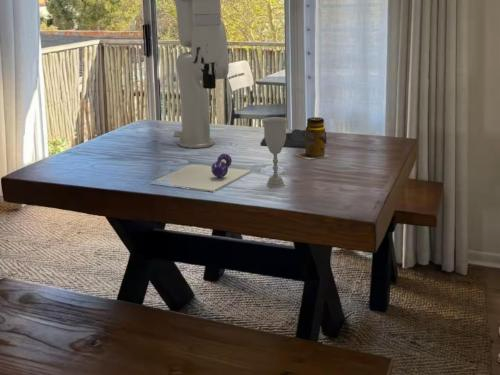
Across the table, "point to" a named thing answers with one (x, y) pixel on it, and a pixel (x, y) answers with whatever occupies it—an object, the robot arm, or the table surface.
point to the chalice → (275, 144)
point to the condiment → (314, 139)
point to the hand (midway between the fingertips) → (209, 88)
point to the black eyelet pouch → (294, 139)
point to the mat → (203, 177)
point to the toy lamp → (221, 165)
